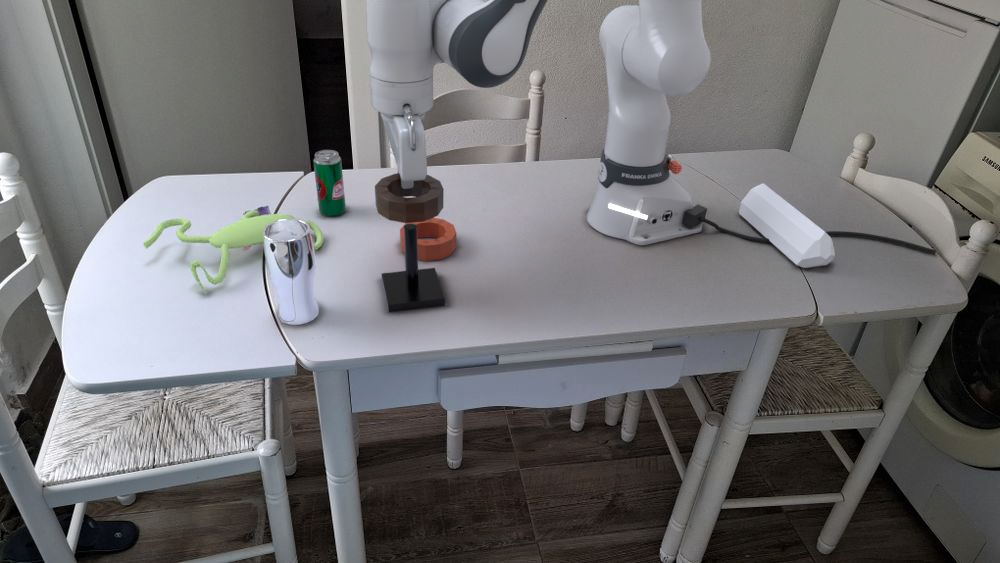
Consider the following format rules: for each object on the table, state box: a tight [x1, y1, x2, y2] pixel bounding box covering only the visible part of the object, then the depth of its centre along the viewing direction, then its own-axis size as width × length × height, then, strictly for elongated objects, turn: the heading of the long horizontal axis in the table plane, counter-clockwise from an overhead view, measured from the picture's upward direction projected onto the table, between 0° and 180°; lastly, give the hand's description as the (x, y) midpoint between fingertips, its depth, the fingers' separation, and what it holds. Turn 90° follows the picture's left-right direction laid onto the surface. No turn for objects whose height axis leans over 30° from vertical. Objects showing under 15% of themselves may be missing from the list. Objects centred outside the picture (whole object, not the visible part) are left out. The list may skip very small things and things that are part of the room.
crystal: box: [738, 182, 836, 269], centre depth 131 cm, size 7×7×24 cm
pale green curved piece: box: [142, 205, 324, 295], centre depth 119 cm, size 18×27×6 cm
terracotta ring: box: [399, 217, 457, 262], centre depth 123 cm, size 10×10×3 cm
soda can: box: [312, 149, 347, 218], centre depth 130 cm, size 5×5×12 cm
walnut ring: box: [374, 172, 445, 224], centre depth 102 cm, size 10×10×3 cm
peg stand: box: [381, 224, 446, 313], centre depth 109 cm, size 9×9×12 cm
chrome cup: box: [262, 218, 320, 326], centre depth 102 cm, size 7×7×15 cm
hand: (405, 181), depth 105 cm, fingers closed on walnut ring, 2 cm apart
